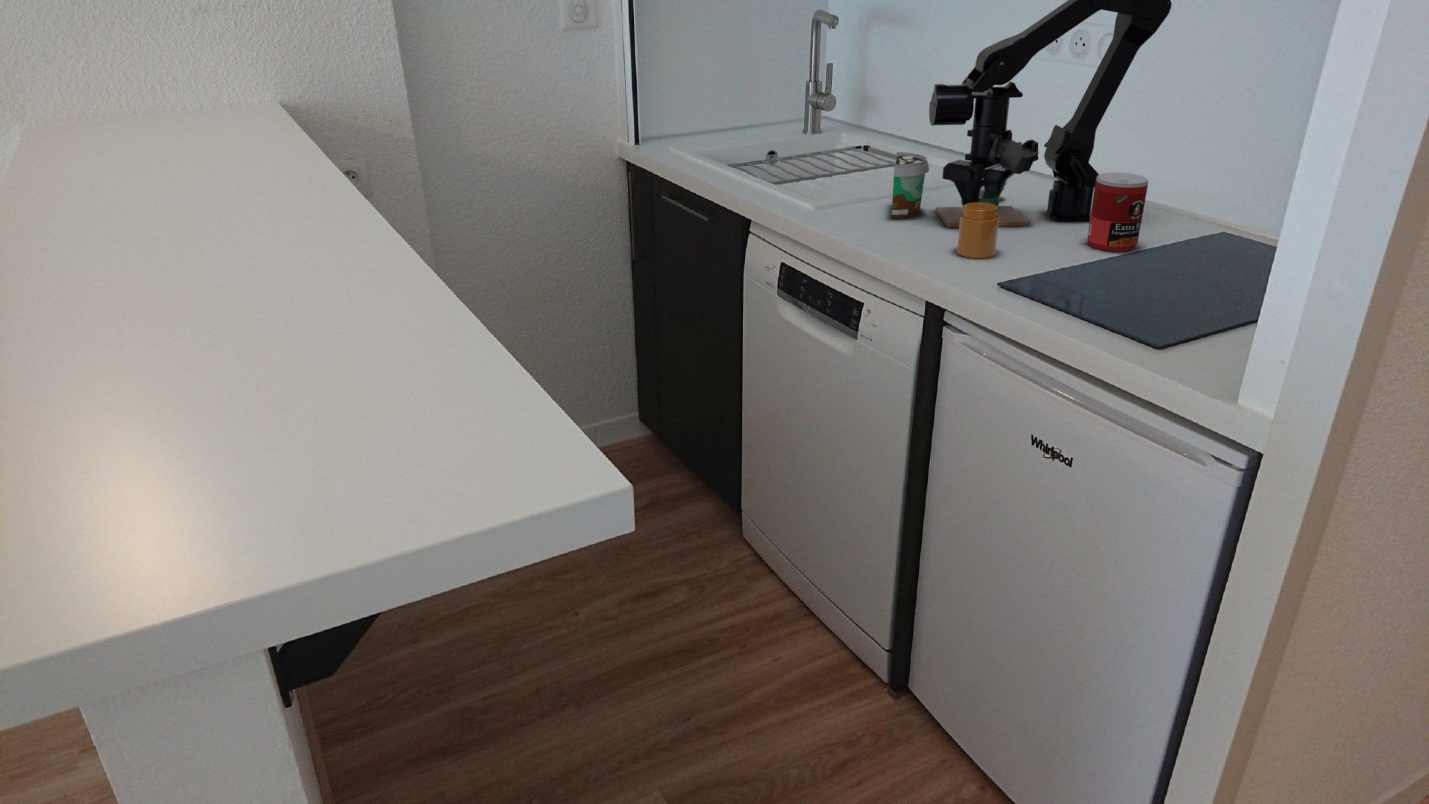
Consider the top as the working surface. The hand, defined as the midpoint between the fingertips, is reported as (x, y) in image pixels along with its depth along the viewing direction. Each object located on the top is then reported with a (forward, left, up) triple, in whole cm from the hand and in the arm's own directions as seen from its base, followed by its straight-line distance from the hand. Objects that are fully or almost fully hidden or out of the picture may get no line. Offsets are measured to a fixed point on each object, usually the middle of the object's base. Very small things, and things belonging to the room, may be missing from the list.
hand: (981, 212), depth 172 cm
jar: (+6, +21, -1) cm, 22 cm away
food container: (+12, -5, -1) cm, 13 cm away
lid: (0, 0, +3) cm, 3 cm away
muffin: (-5, -14, -1) cm, 15 cm away
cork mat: (0, 0, -1) cm, 1 cm away
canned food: (-17, +18, -1) cm, 25 cm away
